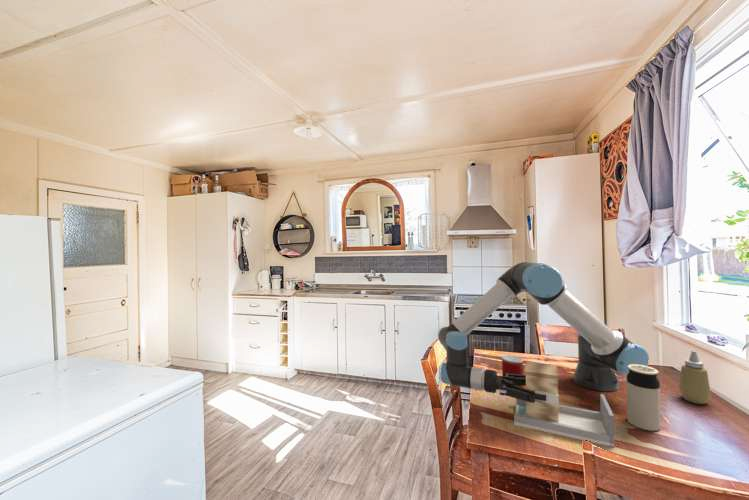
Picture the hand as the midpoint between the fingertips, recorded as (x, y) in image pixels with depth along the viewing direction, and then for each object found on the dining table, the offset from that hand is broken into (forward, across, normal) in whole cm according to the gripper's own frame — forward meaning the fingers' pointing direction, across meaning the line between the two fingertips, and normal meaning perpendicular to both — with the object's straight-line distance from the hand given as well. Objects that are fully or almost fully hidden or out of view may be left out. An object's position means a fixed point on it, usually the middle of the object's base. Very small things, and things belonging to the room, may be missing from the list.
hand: (557, 392), depth 100 cm
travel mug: (+24, -11, -10) cm, 28 cm away
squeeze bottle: (+45, -38, -10) cm, 60 cm away
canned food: (-15, -24, -10) cm, 30 cm away
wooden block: (-5, 0, -9) cm, 10 cm away
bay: (0, 0, -10) cm, 10 cm away
